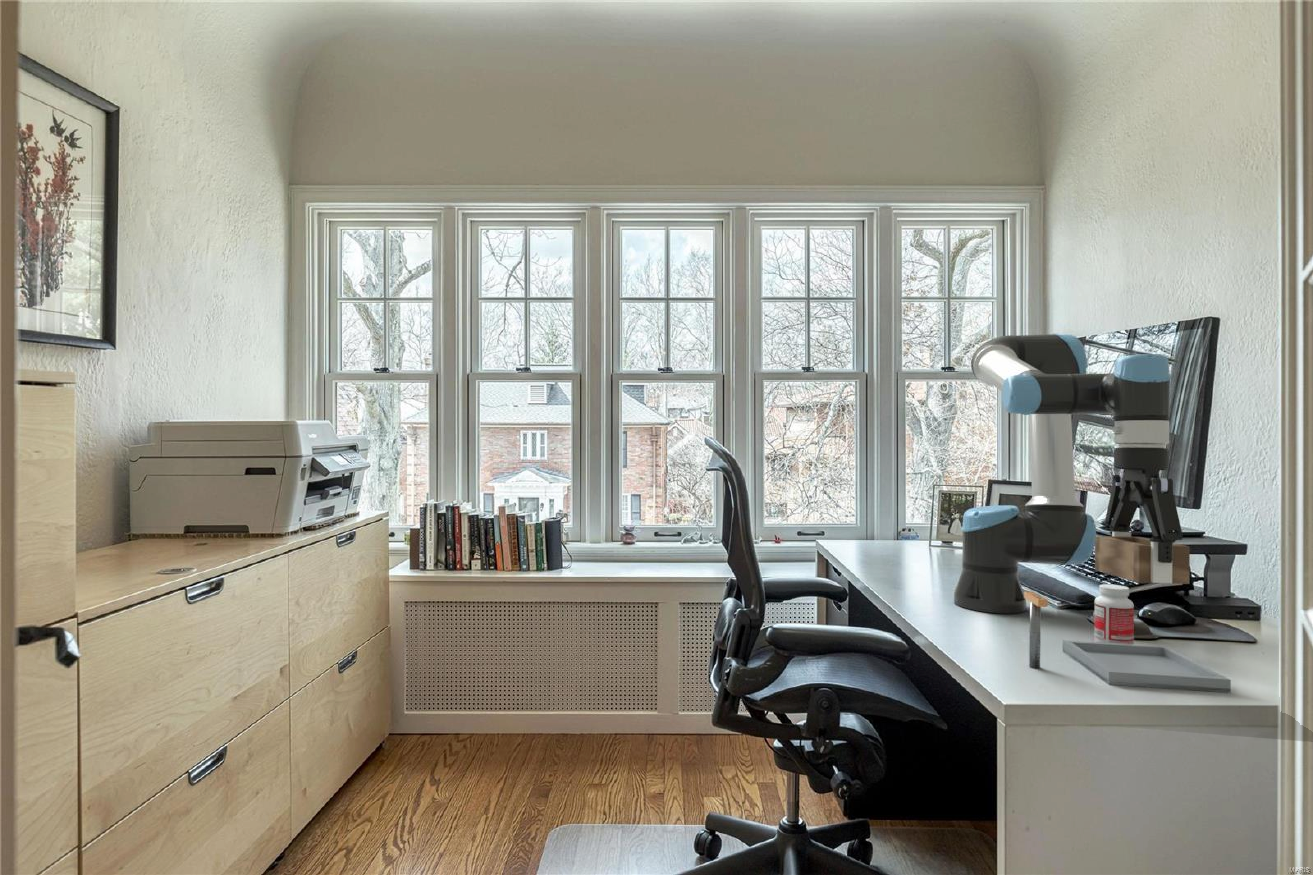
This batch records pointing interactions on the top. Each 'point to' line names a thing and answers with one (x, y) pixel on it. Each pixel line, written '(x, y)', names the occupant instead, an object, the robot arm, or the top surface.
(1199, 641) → the top surface
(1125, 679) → the tray
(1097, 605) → the pill bottle
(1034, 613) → the t-shaped peg
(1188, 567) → the brown wooden open box
